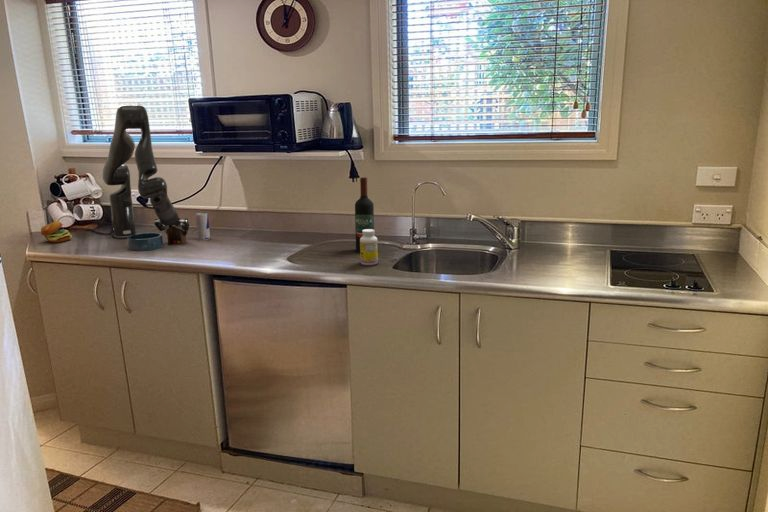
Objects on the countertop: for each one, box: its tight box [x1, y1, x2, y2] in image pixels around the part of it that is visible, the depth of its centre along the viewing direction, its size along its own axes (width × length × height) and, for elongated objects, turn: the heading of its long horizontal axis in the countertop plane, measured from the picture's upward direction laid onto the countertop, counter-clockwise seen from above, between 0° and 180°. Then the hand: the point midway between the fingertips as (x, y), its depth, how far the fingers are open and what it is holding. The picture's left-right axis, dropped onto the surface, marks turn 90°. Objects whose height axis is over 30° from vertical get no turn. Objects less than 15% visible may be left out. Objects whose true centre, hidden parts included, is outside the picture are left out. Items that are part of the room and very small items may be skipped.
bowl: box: [126, 232, 164, 252], centre depth 242 cm, size 14×14×6 cm
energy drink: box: [195, 212, 211, 241], centre depth 256 cm, size 5×5×12 cm
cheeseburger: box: [40, 220, 72, 244], centre depth 257 cm, size 10×11×10 cm
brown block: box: [166, 227, 187, 246], centre depth 249 cm, size 6×6×8 cm
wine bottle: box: [354, 176, 375, 253], centre depth 232 cm, size 8×8×30 cm
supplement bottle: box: [359, 229, 379, 266], centre depth 214 cm, size 7×7×13 cm
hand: (177, 233), depth 250 cm, fingers closed on brown block, 6 cm apart
